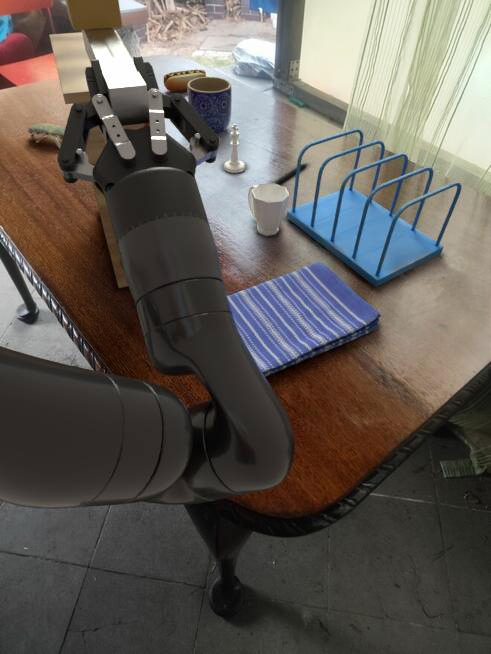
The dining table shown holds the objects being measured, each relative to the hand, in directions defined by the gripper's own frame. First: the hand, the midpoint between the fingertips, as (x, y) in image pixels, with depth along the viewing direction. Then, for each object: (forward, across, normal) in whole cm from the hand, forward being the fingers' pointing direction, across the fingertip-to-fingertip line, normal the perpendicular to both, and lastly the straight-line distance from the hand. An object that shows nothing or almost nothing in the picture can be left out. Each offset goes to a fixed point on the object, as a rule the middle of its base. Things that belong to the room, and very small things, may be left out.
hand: (116, 66), depth 39 cm
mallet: (+4, 0, +5) cm, 6 cm away
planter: (+42, -29, +68) cm, 85 cm away
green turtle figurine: (+46, +11, +70) cm, 84 cm away
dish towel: (-19, -20, +33) cm, 43 cm away
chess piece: (+24, -28, +57) cm, 68 cm away
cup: (+3, -26, +45) cm, 52 cm away
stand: (+5, 0, +46) cm, 47 cm away
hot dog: (+67, -30, +82) cm, 110 cm away
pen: (+16, -38, +53) cm, 68 cm away
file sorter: (-5, -42, +41) cm, 59 cm away
